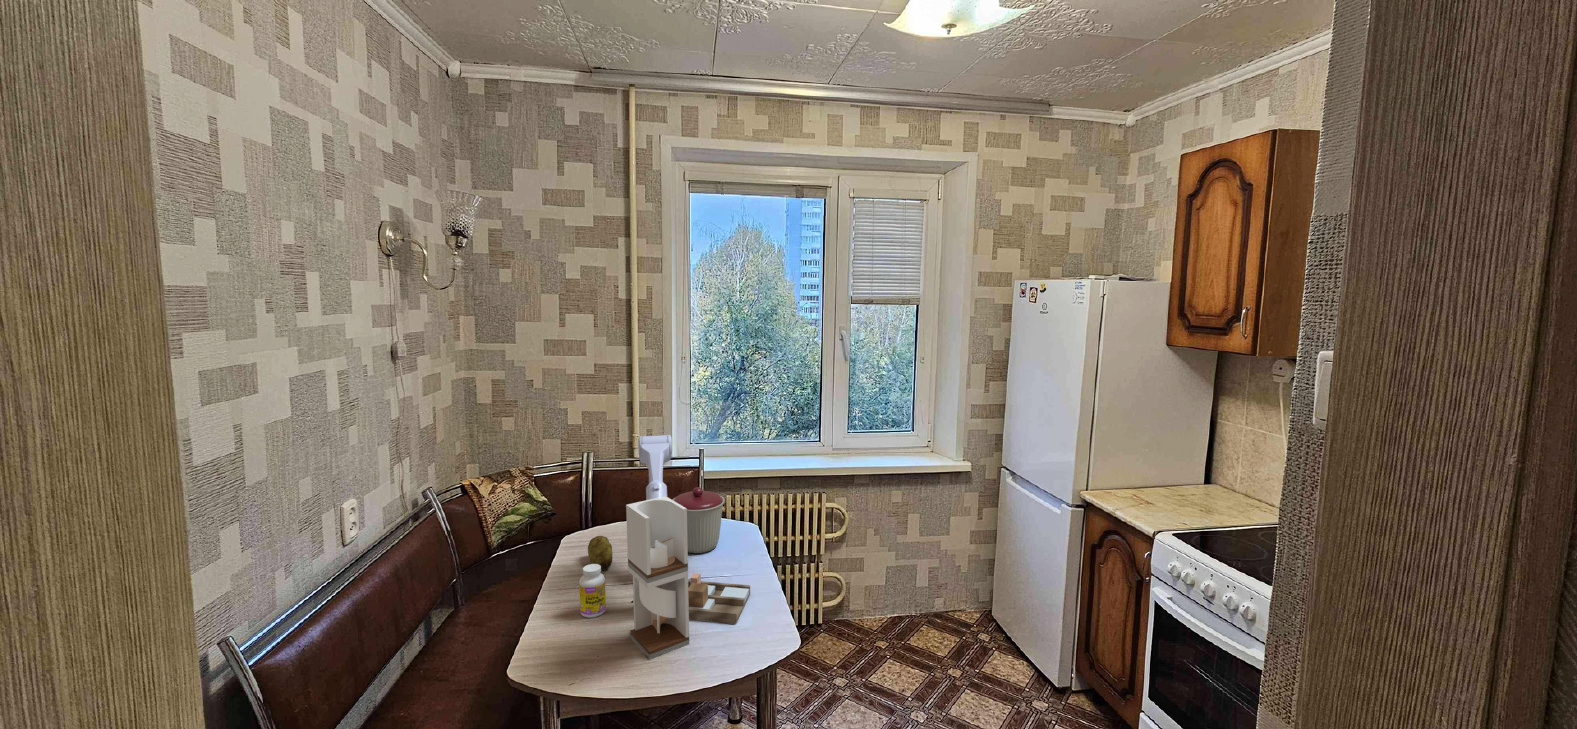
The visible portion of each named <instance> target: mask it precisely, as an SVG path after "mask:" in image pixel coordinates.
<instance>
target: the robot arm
mask: <svg viewBox="0 0 1577 729" xmlns="http://www.w3.org/2000/svg"><path fill="white" fill-rule="evenodd" d="M672 442H673V441H672V436H671V435H670V434H665V435H663V434H662V435H646V436H645V435H643V436H642V435H639V437H638V439H637V445H638V458H639V462H640V463H642V464H645V465H646V466H647V469H648V483H647V484H648V485H647V486H645V495H646V496H645V497H646V498H645V499H646V500H650V499H655V498H659V497H664V496H666V497H668V486H667V484H666V483H664V479H663V478H664V477H663V476H664V474H663V472H664V465H665V464H666V463H667V462H669V461H671V459H672V452H673V443H672ZM646 500H645V501H646Z"/></svg>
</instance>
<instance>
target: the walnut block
mask: <svg viewBox="0 0 1577 729" xmlns="http://www.w3.org/2000/svg"><path fill="white" fill-rule="evenodd" d="M688 600H689V607H699V608H703V607H704V606H705V604H706V602H707V601H708V584H699V583H692V584H691V585H690V587H689V588H688Z"/></svg>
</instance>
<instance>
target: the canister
mask: <svg viewBox="0 0 1577 729" xmlns="http://www.w3.org/2000/svg"><path fill="white" fill-rule="evenodd" d="M672 500H673V501H675V502H676V503H678V504H680V505H681V506H683V507H685V508H687V546H688V553H690V554H703V553H706V552H707V553H708V552H710V551H712V550H713V549H715V548H716V547H717V546H718V543H719V540H720V535H721V534H720V532H721V526H722V525H721V524H722V516H723V514H722V513H723V505H724V504H725V502H726V500H725V497H723V496H722V495H720V494H719V493H716V492H714V491H709V490H704V489H703V488H702V487H700V486H698V487H694V488H693V489H692V491H687V492H683V493H680V494H679V495H677V496H675V497H674V498H673V499H672Z"/></svg>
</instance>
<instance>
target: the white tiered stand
mask: <svg viewBox="0 0 1577 729" xmlns="http://www.w3.org/2000/svg"><path fill="white" fill-rule="evenodd" d="M625 508H626V539H627V540H626V541H627V542H626V544H627V546H626V547H627V570H628V571H627V572H628V573H630V574H631V576H632V591H633V592H632V593H633V595H632V597H633V620H634V621H633V622H634V623H633V624H634V626H633V629H630V630H629V635H630V637H629V638H630V639H631V640H632V642H634V644H635V645H636V646H637V647H638V649H640V650H641V652H642V653H643V654H644V655H645V656H646V657H647V658H648V660H652V659H655V658H657V657H660V656H662V655H665V654H668V653H670V652H672V651H675V650H677V649H680V648H682V647H683V648H684V647H685V646H688V645H690V619H689V600H688V580H689V560H688V558H689V555H688V553H689V552H688V546H687V508H685V507H683V506H681V505H680V504H678V503H676V502H675V501H673V499H671V498H670V497H668V496H667V497H666V496H664V497H659V498H655V499H650V500H643V501H641V500H640V501H637V502H632V503H628V504H625Z"/></svg>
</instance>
